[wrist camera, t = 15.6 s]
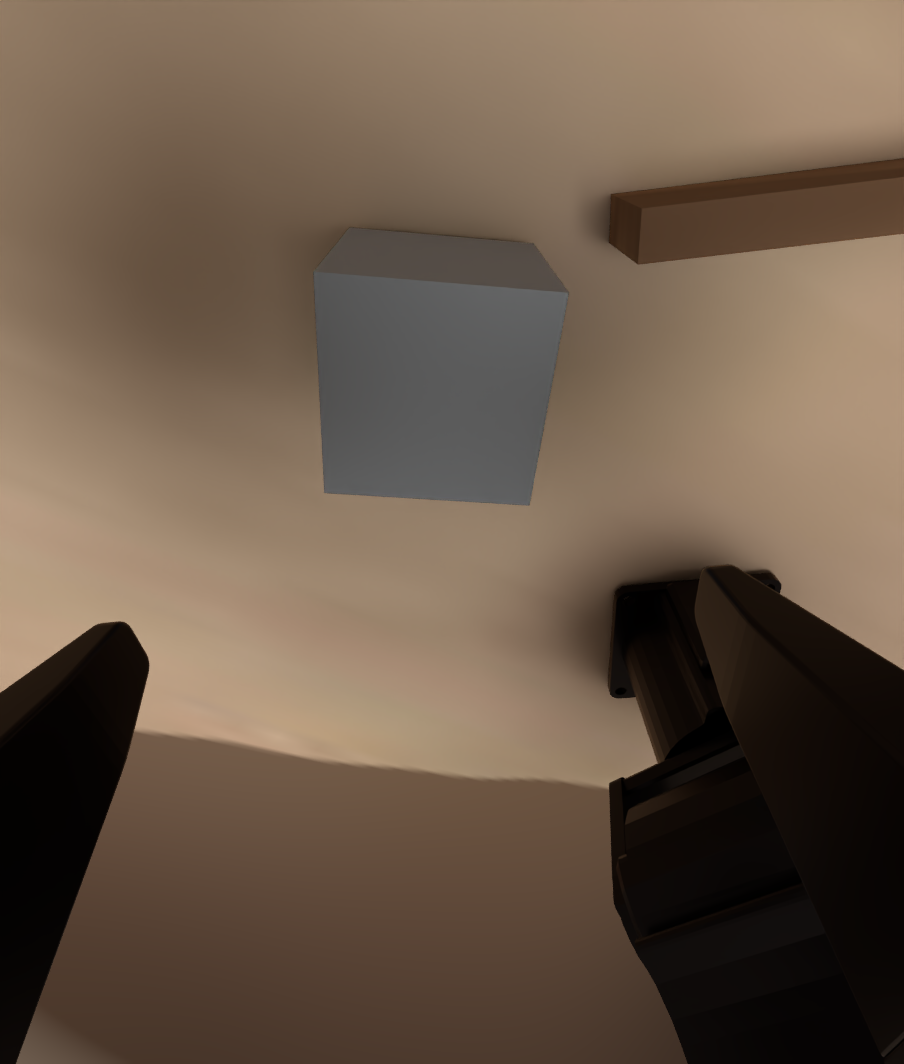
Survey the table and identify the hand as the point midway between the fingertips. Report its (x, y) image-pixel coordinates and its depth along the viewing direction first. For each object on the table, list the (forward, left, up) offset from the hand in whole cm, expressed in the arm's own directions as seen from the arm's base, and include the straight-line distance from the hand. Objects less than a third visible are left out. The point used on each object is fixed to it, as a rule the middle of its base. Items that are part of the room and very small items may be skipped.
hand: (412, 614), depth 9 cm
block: (+1, 0, -11) cm, 11 cm away
